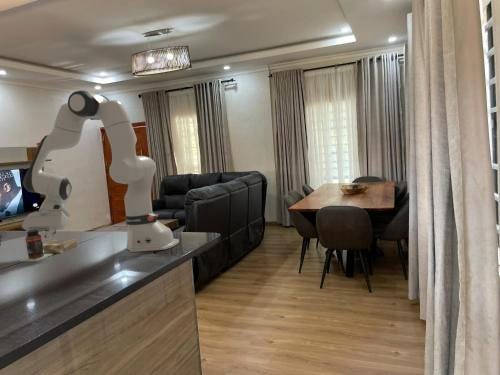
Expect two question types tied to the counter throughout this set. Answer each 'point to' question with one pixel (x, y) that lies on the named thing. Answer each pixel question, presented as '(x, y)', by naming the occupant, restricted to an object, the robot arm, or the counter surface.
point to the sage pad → (36, 258)
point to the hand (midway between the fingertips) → (37, 237)
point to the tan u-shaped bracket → (58, 246)
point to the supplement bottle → (34, 244)
